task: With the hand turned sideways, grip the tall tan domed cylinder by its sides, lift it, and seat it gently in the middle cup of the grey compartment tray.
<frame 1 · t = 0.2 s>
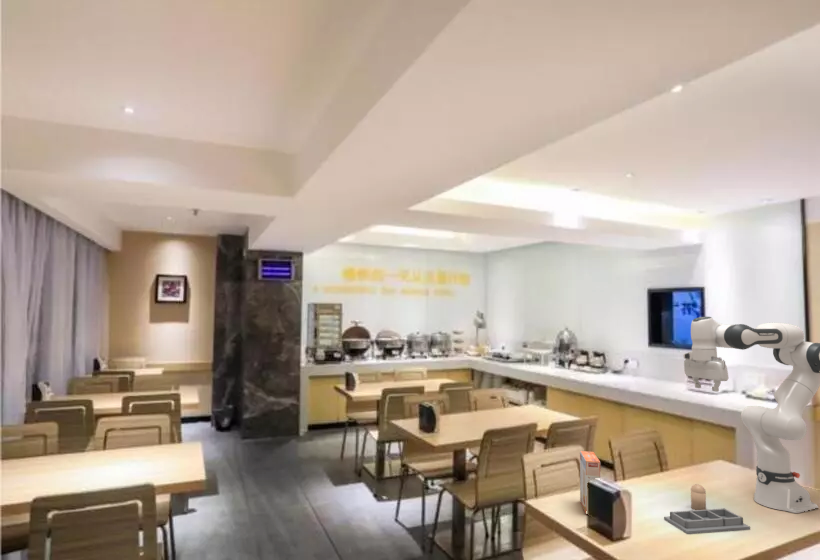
hand: (706, 389, 195), 48 cm above the table, tool pointing down, fingers open, 8 cm apart
grey compartment tray: (706, 524, 177), on the table
cracker box: (590, 509, 190), on the table
tan domed cylinder: (698, 508, 191), on the table
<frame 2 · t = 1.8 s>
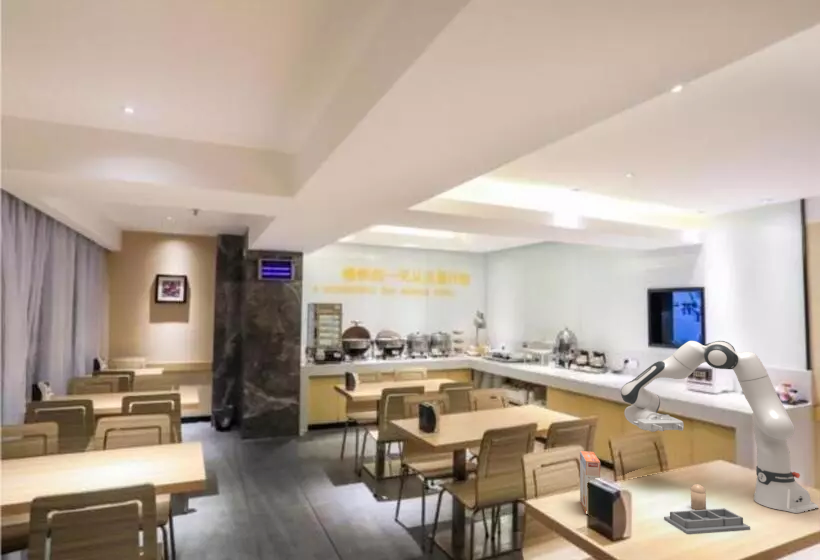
hand: (672, 429, 207), 28 cm above the table, tool horizontal, fingers open, 8 cm apart
nothing on the table moved.
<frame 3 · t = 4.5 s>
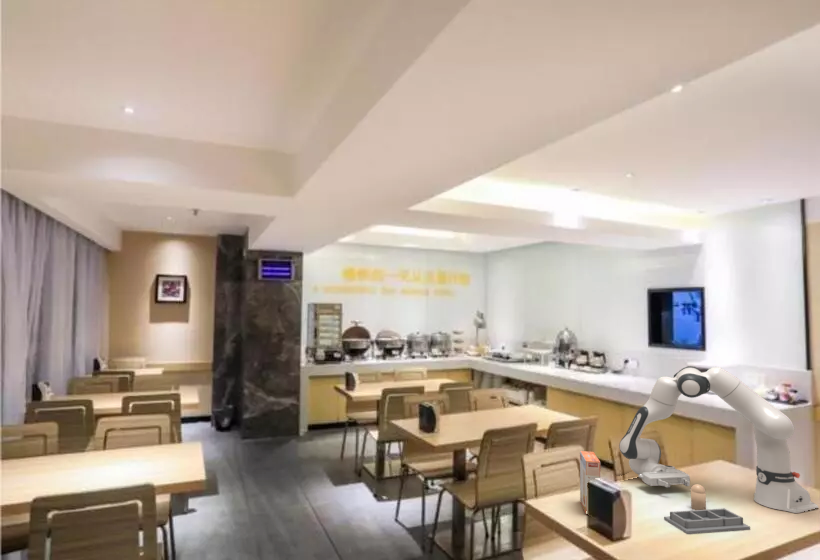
hand: (678, 484, 203), 5 cm above the table, tool horizontal, fingers open, 8 cm apart
nothing on the table moved.
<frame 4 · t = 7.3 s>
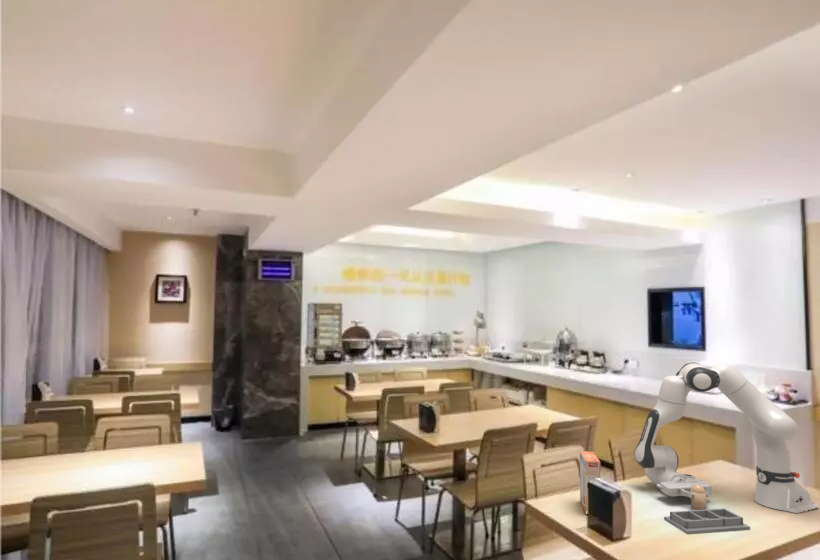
hand: (699, 495, 191), 6 cm above the table, tool horizontal, fingers closed on tan domed cylinder, 5 cm apart
tan domed cylinder: (698, 508, 191), on the table, touching gripper
everything else where it was.
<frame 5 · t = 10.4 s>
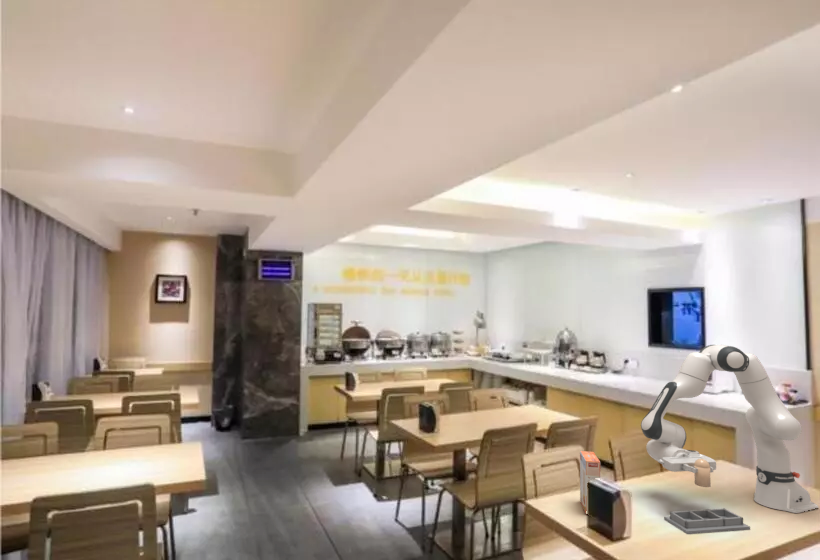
hand: (704, 470, 180), 19 cm above the table, tool horizontal, fingers closed on tan domed cylinder, 5 cm apart
tan domed cylinder: (702, 484, 181), point 14 cm above the table, touching gripper
everything else where it was.
when the fingers open (8 cm above the table, at t = 13.8 s): tan domed cylinder drops 1 cm, resting on grey compartment tray.
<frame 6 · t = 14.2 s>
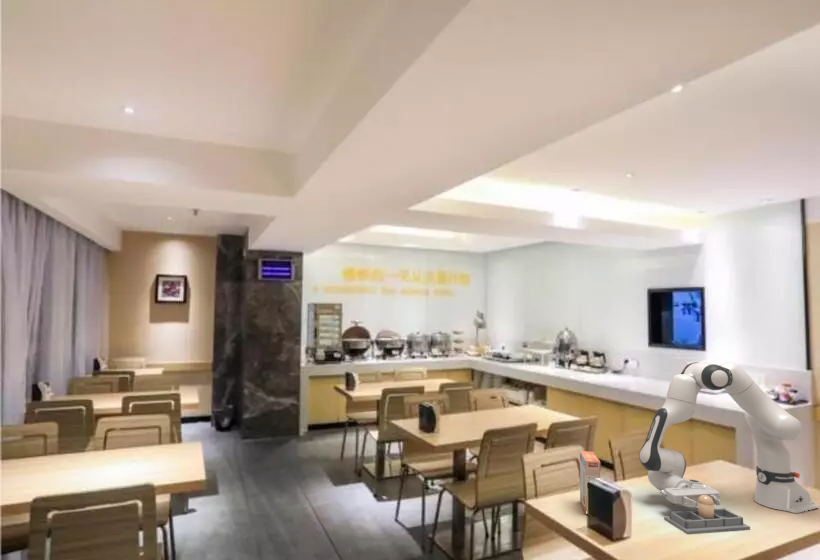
hand: (707, 503, 177), 8 cm above the table, tool horizontal, fingers open, 8 cm apart
tan domed cylinder: (706, 521, 177), point 1 cm above the table, touching grey compartment tray
everything else where it was.
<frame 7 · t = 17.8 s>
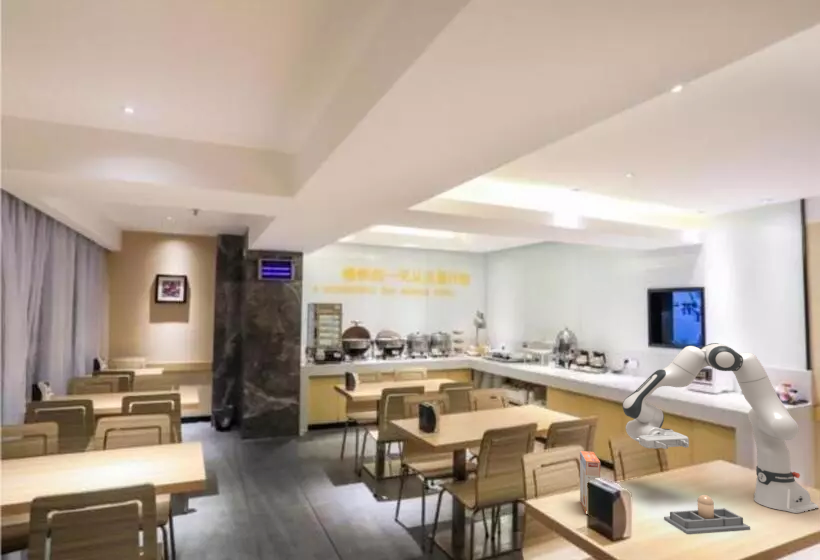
hand: (676, 446, 193), 25 cm above the table, tool horizontal, fingers open, 8 cm apart
nothing on the table moved.
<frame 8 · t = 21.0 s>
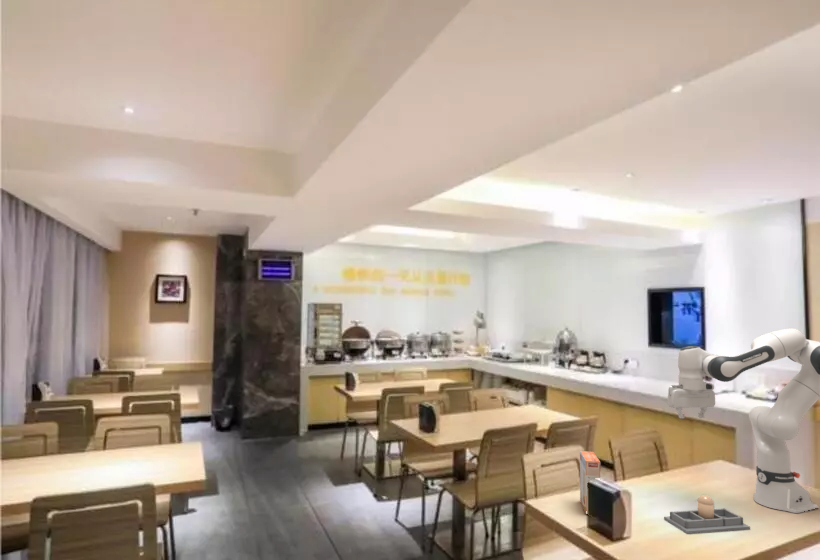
hand: (691, 417, 199), 35 cm above the table, tool pointing down, fingers open, 8 cm apart
nothing on the table moved.
at the end: tan domed cylinder 0.0 cm off-centre on the grey compartment tray, point 1.0 cm above the grey compartment tray's base; tan domed cylinder tilted 0°; the gripper is holding nothing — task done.
